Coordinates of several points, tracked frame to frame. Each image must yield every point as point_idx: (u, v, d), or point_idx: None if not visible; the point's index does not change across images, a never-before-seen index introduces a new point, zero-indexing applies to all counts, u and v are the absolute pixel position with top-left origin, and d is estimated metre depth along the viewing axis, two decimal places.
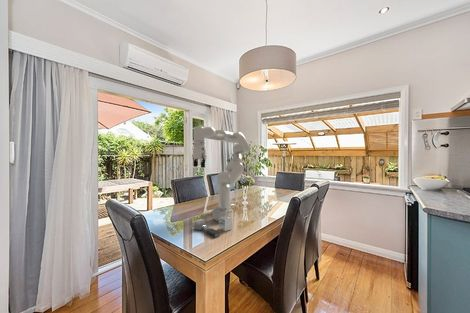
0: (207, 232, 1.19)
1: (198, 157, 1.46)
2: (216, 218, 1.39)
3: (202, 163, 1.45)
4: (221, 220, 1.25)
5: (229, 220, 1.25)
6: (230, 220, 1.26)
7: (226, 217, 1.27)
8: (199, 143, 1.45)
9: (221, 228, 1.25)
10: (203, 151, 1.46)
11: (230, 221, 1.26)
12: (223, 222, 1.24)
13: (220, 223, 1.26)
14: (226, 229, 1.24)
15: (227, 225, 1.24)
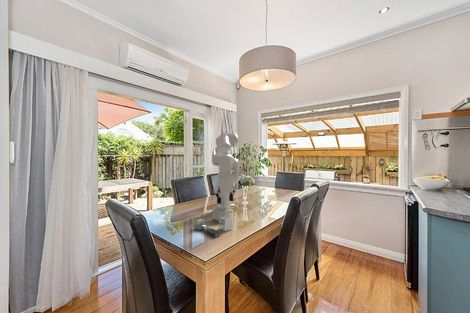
0: (207, 232, 1.19)
1: (230, 190, 1.26)
2: (216, 218, 1.39)
3: None
4: (221, 220, 1.25)
5: (229, 220, 1.25)
6: (230, 220, 1.26)
7: (226, 217, 1.27)
8: (231, 174, 1.27)
9: (221, 228, 1.25)
10: None
11: (230, 221, 1.26)
12: (223, 222, 1.24)
13: (220, 223, 1.26)
14: (226, 229, 1.24)
15: (227, 225, 1.24)
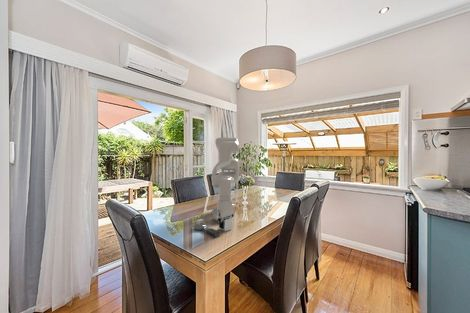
0: (207, 232, 1.19)
1: (230, 213, 1.27)
2: None
3: None
4: None
5: (229, 220, 1.25)
6: (230, 220, 1.26)
7: (226, 217, 1.27)
8: None
9: None
10: None
11: (230, 221, 1.26)
12: (223, 222, 1.24)
13: None
14: (226, 229, 1.24)
15: (227, 225, 1.24)
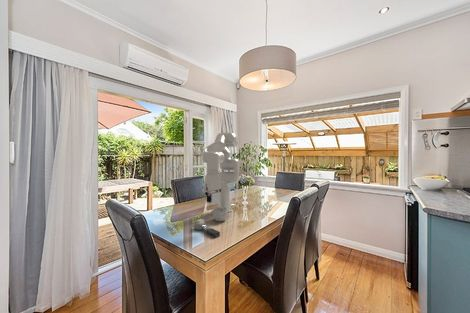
0: (207, 232, 1.19)
1: (218, 188, 1.27)
2: (216, 218, 1.39)
3: None
4: None
5: (217, 194, 1.25)
6: (218, 194, 1.26)
7: (214, 192, 1.27)
8: None
9: None
10: None
11: (218, 195, 1.26)
12: (211, 196, 1.23)
13: None
14: (214, 203, 1.24)
15: (215, 199, 1.24)
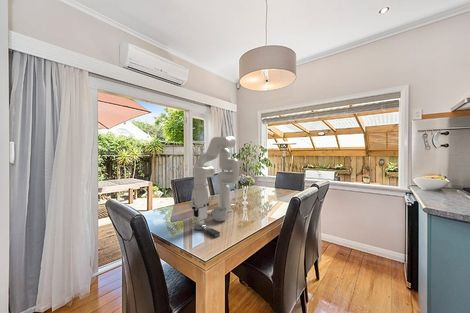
0: (207, 232, 1.19)
1: (205, 202, 1.27)
2: (216, 218, 1.39)
3: None
4: None
5: (204, 209, 1.26)
6: (205, 209, 1.26)
7: (201, 206, 1.28)
8: None
9: (196, 217, 1.25)
10: None
11: (205, 210, 1.26)
12: (197, 210, 1.24)
13: None
14: (200, 217, 1.24)
15: (202, 213, 1.25)
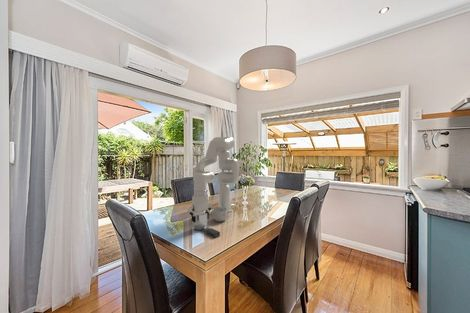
0: (207, 232, 1.19)
1: (205, 208, 1.27)
2: (216, 218, 1.39)
3: None
4: (196, 216, 1.25)
5: (204, 216, 1.26)
6: (205, 216, 1.26)
7: (201, 213, 1.28)
8: None
9: (196, 224, 1.26)
10: None
11: (205, 217, 1.26)
12: (197, 218, 1.24)
13: None
14: (200, 225, 1.24)
15: (202, 221, 1.25)
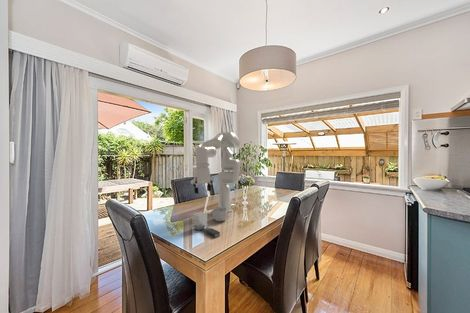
0: (207, 232, 1.19)
1: (207, 181, 1.33)
2: (216, 218, 1.39)
3: None
4: (196, 216, 1.25)
5: (204, 216, 1.26)
6: (205, 216, 1.26)
7: (201, 213, 1.28)
8: (208, 165, 1.33)
9: (196, 224, 1.26)
10: None
11: (205, 217, 1.26)
12: (197, 218, 1.24)
13: (195, 219, 1.26)
14: (200, 225, 1.24)
15: (202, 221, 1.25)
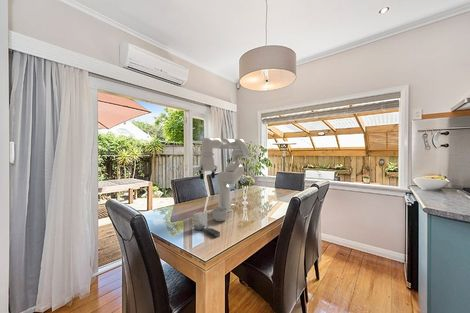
0: (207, 232, 1.19)
1: (211, 168, 1.49)
2: (216, 218, 1.39)
3: None
4: (196, 216, 1.25)
5: (204, 216, 1.26)
6: (205, 216, 1.26)
7: (201, 213, 1.28)
8: (212, 155, 1.49)
9: (196, 224, 1.26)
10: None
11: (205, 217, 1.26)
12: (197, 218, 1.24)
13: (195, 219, 1.26)
14: (200, 225, 1.24)
15: (202, 221, 1.25)
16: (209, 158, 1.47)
